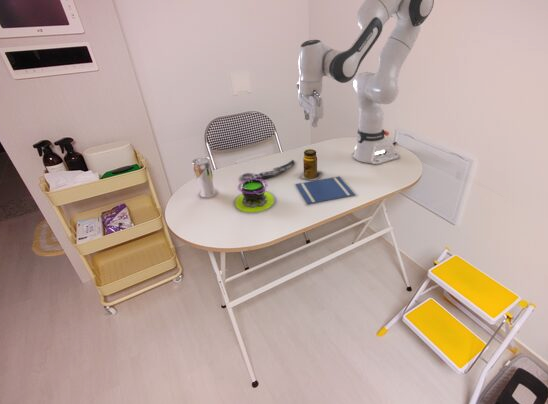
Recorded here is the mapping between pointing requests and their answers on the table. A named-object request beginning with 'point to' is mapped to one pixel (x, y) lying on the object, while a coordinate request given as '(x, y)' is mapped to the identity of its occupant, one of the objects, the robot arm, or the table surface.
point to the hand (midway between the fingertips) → (310, 123)
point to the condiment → (310, 165)
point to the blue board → (324, 190)
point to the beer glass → (204, 176)
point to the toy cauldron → (254, 196)
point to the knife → (268, 174)
